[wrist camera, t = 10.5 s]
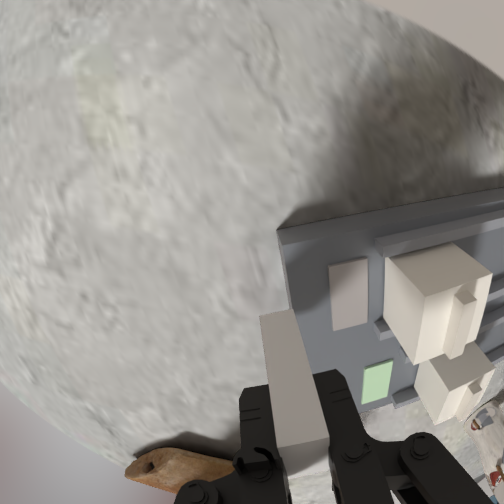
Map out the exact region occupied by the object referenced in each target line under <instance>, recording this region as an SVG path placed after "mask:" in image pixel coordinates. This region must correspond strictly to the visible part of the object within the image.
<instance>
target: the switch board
mask: <svg viewBox="0 0 504 504" xmlns="http://www.w3.org/2000/svg"><path fill="white" fill-rule="evenodd" d="M276 231H277V237H278V243H279V248H280V254H281V260H282V265H283V271H284V277H285V283H286V289H287V295H288V301H289V307H290V309H293V310H294V314H295V317H296V320H297V324H298V327H299V331H300V334H301V337H302V341H303V344H304V348H305V351H306V355H307V358H308V362H309V365H310V369H311V372H312V374H316V373H320V372H324V371H328V370H332V369H337V370H338V371H339V372H340V373H341V374H342V375H343V376H344V377H345V378H346V381H347V384H348V386H349V390H350V392H351V394H352V398H353V400H354V402H355V405H356V408H357V410H358V413H363V412H366V411H369V410H372V409H375V408H379V407H382V406H385V405H388V404H391V403H393V405H394V408H395V409H396V408H399V407H402V406H405V405H407V404H410V403H413V402H415V401H418V400H420V397H419V395H418V393H417V392H416V390H415V388H414V384H415V380H416V376H417V372H418V368H419V364H420V363H419V364H416V365H413V364H412V362H411V360H410V359H409V357H408V356H407V354H406V352H405V351H404V349H403V348H402V346H401V344H400V343H399V341H398V340H397V338H396V336H395V335H394V333H393V332H392V330H391V329H390V327H389V326H388V324H387V323H386V321H385V319H384V318H383V311H384V288H385V258H386V257H391V256H395V255H399V254H403V253H407V252H411V251H415V250H419V249H423V248H427V247H431V246H435V245H439V244H442V243H446V242H450V241H451V242H452V243H453V244H455V245H456V246H458V247H459V248H460V249H462V250H463V251H464V252H466V253H467V254H468V255H470V256H471V257H472V258H474V259H475V260H476V261H478V262H479V263H480V264H481V265H483V266H484V267H485V268H486V269H488V270H489V271H490V272H491V273H493V274H492V279H491V284H490V288H489V293H488V297H487V301H486V305H485V309H484V313H483V317H482V320H481V324H480V327H479V331H478V334H477V337H476V340H474V342H475V343H476V344H477V345H478V347H479V348H480V349H481V350H482V352H483V353H484V354H485V355H486V357H487V358H488V359H489V360H490V362H491V363H492V364H493V365H494V364H496V363H498V362H500V361H502V360H503V359H504V188H498V189H492V190H486V191H480V192H474V193H469V194H463V195H457V196H452V197H446V198H440V199H435V200H429V201H424V202H418V203H413V204H407V205H402V206H397V207H391V208H386V209H381V210H375V211H370V212H365V213H360V214H355V215H349V216H344V217H339V218H334V219H329V220H324V221H319V222H314V223H309V224H304V225H299V226H294V227H289V228H284V229H279V230H276Z"/></svg>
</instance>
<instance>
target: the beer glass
mask: <svg viewBox="0 0 504 504" xmlns="http://www.w3.org/2000/svg"><path fill="white" fill-rule="evenodd" d="M463 429H464V431H465V432H466V433H467V434H468V435H469V436H470V437H471V439H472V440H473V441H474V443H475V445H476V447H477V449H478V452H479V455H480V458H481V462H482V466H483V469H484V473H485V476H486V479H487V481H488V484H489V486H490V488H491V490H492V492H493V494H494V496H495V498H496V499H497V501H498V502H499V504H504V415H503V412H502V410H501V407H500V405H499V403H498V401H497V400H491V401H489V402H487V403H486V404H484V405H483V406H481V407H480V408H479V409H478V410H476V411H475V412H474V413H473V414H472V415H471V416H470V417H469V418H468V419H467V420H466V422H465V423H464V425H463Z"/></svg>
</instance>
